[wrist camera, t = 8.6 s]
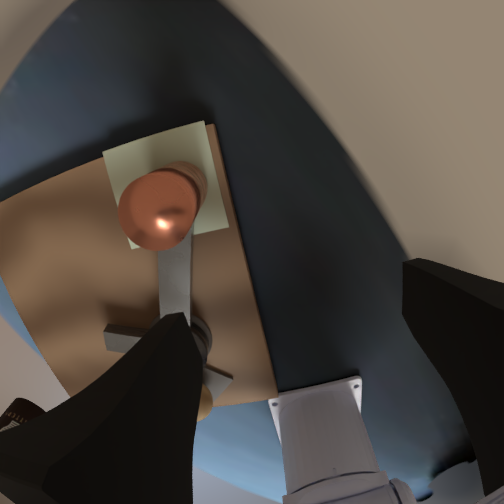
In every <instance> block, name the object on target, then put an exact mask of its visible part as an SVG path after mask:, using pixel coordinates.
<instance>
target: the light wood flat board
mask: <svg viewBox="0 0 504 504" xmlns="http://www.w3.org/2000/svg"><path fill="white" fill-rule="evenodd" d="M102 153H103V157H102V158H99V159H96V160H94V161H91V162H88V163H86V164H83V165H81V166H78V167H76V168H73V169H71V170H68V171H66V172H64V173H61V174H59V175H57V176H54V177H52V178H50V179H48V180H45V181H43V182H41V183H39V184H37V185H34V186H32V187H30V188H28V189H26V190H24V191H22V192H20V193H18V194H16V195H14V196H12V197H10V198H8V199H6V200H4V201H2V202H0V275H1V277H2V280H3V282H4V284H5V286H6V288H7V291H8V293H9V295H10V297H11V299H12V301H13V303H14V305H15V307H16V309H17V311H18V313H19V315H20V317H21V319H22V321H23V323H24V325H25V326H26V328H27V330H28V332H29V334H30V335H31V337H32V339H33V341H34V342H35V344H36V346H37V347H38V349H39V351H40V352H41V354H42V356H43V357H44V359H45V360H46V362H47V364H48V365H49V367H50V368H51V370H52V371H53V373H54V374H55V376H56V377H57V379H58V380H59V382H60V383H61V384H62V386H63V387H64V389H65V390H66V391H67V393H68V394H69V396H70V397H72V396H74V395H76V394H77V393H79V392H80V391H82V390H83V389H84V388H86V387H87V386H88V385H90V384H91V383H92V382H94V381H95V380H96V379H97V378H99V377H100V376H101V375H102V374H104V373H105V372H106V371H107V370H108V369H109V368H110V367H111V366H113V365H114V364H115V363H116V362H117V361H118V360H119V359H120V358H121V357H122V356H123V355H124V354H125V353H119V352H113V351H108V350H107V349H106V345H105V340H104V335H103V331H104V329H105V327H106V326H107V324H108V323H109V324H116V325H122V326H129V327H136V328H144V329H151V328H152V327H153V326H154V325H155V324H156V323H157V322H158V321H159V320H160V302H159V279H158V251H152V250H147V249H144V248H142V247H139V246H138V245H136V244H135V243H133V242H132V241H131V240H130V239H129V238H128V237H127V236H126V234H125V233H124V231H123V229H122V227H121V225H120V222H119V218H118V204H119V200H120V197H121V195H122V193H123V191H124V190H125V188H126V187H127V186H128V185H129V184H130V183H131V182H132V181H134V180H135V179H137V178H139V177H141V176H143V175H146V174H148V173H150V172H152V171H154V170H156V169H158V168H160V167H162V166H165V165H167V164H169V163H171V162H175V161H185V162H189V163H191V164H193V165H195V166H196V167H198V168H199V169H200V170H201V171H202V173H203V174H204V176H205V178H206V181H207V186H208V191H207V196H206V199H205V201H204V203H203V205H202V207H201V209H200V211H199V213H198V214H197V216H196V218H195V220H194V242H193V283H192V322H194V323H195V324H197V325H198V326H199V327H200V328H201V329H202V330H203V331H204V332H205V334H206V335H207V338H208V341H209V349H208V356H207V363H206V366H205V367H204V369H203V384H202V392H201V398H200V405H199V411H198V417H197V421H200V420H202V419H204V418H205V417H207V416H208V414H209V413H210V412H211V409H212V407H217V406H226V405H234V404H242V403H249V402H255V401H262V400H268V399H274V398H279V395H278V387H277V383H276V379H275V375H274V371H273V367H272V363H271V359H270V355H269V351H268V346H267V342H266V338H265V334H264V330H263V326H262V322H261V318H260V313H259V309H258V305H257V301H256V297H255V293H254V288H253V284H252V280H251V276H250V272H249V268H248V263H247V259H246V255H245V251H244V247H243V242H242V238H241V234H240V230H239V226H238V221H237V217H236V213H235V209H234V204H233V200H232V196H231V192H230V187H229V183H228V179H227V174H226V170H225V166H224V162H223V157H222V153H221V149H220V144H219V140H218V136H217V131H216V127H215V124H210V125H205V123H204V121H200V122H196V123H192V124H189V125H185V126H181V127H178V128H174V129H171V130H167V131H164V132H160V133H157V134H154V135H151V136H148V137H144V138H141V139H138V140H135V141H132V142H129V143H126V144H123V145H121V146H118V147H115V148H112V149H109V150H107V151H104V152H102Z"/></svg>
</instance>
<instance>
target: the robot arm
mask: <svg viewBox="0 0 504 504" xmlns="http://www.w3.org/2000/svg"><path fill="white" fill-rule="evenodd" d="M402 315H403V317H404V319H405V321H406V323H407V325H408V327H409V329H410V331H411V332H412V334H413V336H414V338H415V339H416V341H417V342H418V344H419V345H420V347H421V348H422V349H423V351H424V352H425V354H426V355H427V357H428V358H429V359H430V361H431V362H432V364H433V365H434V367H435V368H436V370H437V371H438V373H439V374H440V376H441V377H442V378H443V380H444V381H445V383H446V385H447V387H448V388H449V390H450V392H451V394H452V396H453V398H454V400H455V402H456V404H457V406H458V409H459V411H460V413H461V415H462V418H463V420H464V423H465V425H466V428H467V431H468V433H469V436H470V439H471V442H472V445H473V448H474V451H475V455H476V458H477V461H478V466H479V470H480V475H481V479H482V484H483V490H484V495H485V498H483V499H481V500H479V501H478V502H476V503H474V504H504V283H501V282H498V281H494V280H490V279H487V278H483V277H480V276H477V275H473V274H471V273H467V272H464V271H461V270H458V269H455V268H452V267H449V266H446V265H443V264H440V263H437V262H434V261H430V260H426V259H421V258H416V259H413V260H409V261H405V262H403V300H402ZM202 384H203V359H202V356H201V354H200V351H199V349H198V347H197V344H196V342H195V339H194V337H193V334H192V332H191V330H190V327H189V325H188V322H187V319H186V317H185V314H184V312H178V313H172V314H166V315H165V316H164V317H162V318H161V319H160V320H159V321H158V322H157V323H156V324H155V325H154V326H153V327H152V328H151V329H150V330H149V331H148V332H147V333H146V334H145V335H144V336H143V337H142V338H141V339H140V340H139V341H138V342H137V343H136V344H135V345H134V346H133V347H132V348H131V349H130V350H129V351H128V352H127V353H126V354H124V355H123V356H122V357H121V358H120V359H119V360H118V361H117V362H116V363H115V364H114V365H113V366H111V367H110V368H109V369H108V370H107V371H106V372H105V373H104V374H102V375H101V376H100V377H99V378H97V379H96V380H95V381H94V382H92V383H91V384H90V385H88V386H87V387H86V388H84V389H83V390H82V391H80V392H79V393H77V394H76V395H74V396H72V397H71V398H69V399H68V400H66V401H65V402H63V403H61V404H60V405H58V406H57V407H55V408H53V409H52V410H49V411H48V412H46V413H44V414H42V415H40V416H38V417H36V418H34V419H32V420H29V421H27V422H25V423H23V424H20V425H17V426H15V427H12V428H9V429H7V430H4V431H1V432H0V492H1V493H2V494H4V495H5V496H6V497H7V498H9V499H10V500H11V501H13V502H14V503H15V504H193V491H192V490H193V489H192V461H193V444H194V436H195V430H196V424H197V417H198V411H199V405H200V398H201V392H202ZM356 384H357V385H356ZM361 394H362V379H361V377H360V376H353V377H349V378H345V379H341V380H337V381H333V382H329V383H325V384H320V385H316V386H311V387H307V388H302V389H297V390H292V391H287V392H282V393H278V395H279V398H274V399H268V403H269V407H270V410H271V413H272V417H273V420H274V424H275V427H276V430H277V434H278V437H279V440H280V443H281V447H282V454H283V463H284V472H285V481H286V490H287V495H284V496H282V498H283V504H417V503H416V500H415V497H414V495H413V493H412V491H411V489H410V487H409V486H408V485H407V484H406V483H405V482H402V481H400V480H399V479H397V478H394V479H392V480H388V477H387V474H386V471H381V472H380V469H379V466H378V463H377V460H376V457H375V454H374V451H373V448H372V445H371V442H370V439H369V437H368V434H367V431H366V428H365V425H364V422H363V419H362V417H361ZM274 402H276V403H274Z"/></svg>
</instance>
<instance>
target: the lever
mask: <svg viewBox="0 0 504 504" xmlns="http://www.w3.org/2000/svg"><path fill="white" fill-rule="evenodd" d="M207 191H208V186H207V181H206V178H205V176H204V174H203V173H202V171H201V170H200V169H199V168H198V167H196V166H195V165H193V164H191V163H189V162H185V161H175V162H171V163H169V164H167V165H165V166H162V167H160V168H158V169H156V170H154V171H152V172H150V173H148V174H146V175H143V176H141V177H139V178H137V179H135V180H134V181H132V182H131V183H130V184H129V185H128V186H127V187H126V188H125V190H124V191H123V193H122V195H121V197H120V200H119V204H118V218H119V222H120V225H121V227H122V229H123V231H124V233H125V234H126V236H127V237H128V238H129V239H130V240H131V241H132V242H133V243H135V244H136V245H138V246H139V247H142V248H144V249H147V250H152V251H158V279H159V302H160V319H161V318H162V317H164V316H165V315H166V314H172V313H178V312H184V314H185V317H186V319H187V322H188V325H189V327H190V330H191V332H192V334H193V337H194V339H195V342H196V344H197V347H198V349H199V351H200V354H201V356H202V359H203V369H204V367H205V366H206V363H207V356H208V349H209V341H208V338H207V335H206V334H205V332H204V331H203V330H202V329H201V328H200V327H199V326H198V325H197V324H195V323H194V322H192V283H193V242H194V220H195V218H196V216H197V214H198V213H199V211H200V209H201V207H202V205H203V203H204V201H205V199H206V196H207ZM149 330H150V329H144V328H136V327H129V326H122V325H116V324H109V323H108V324H107V326H106V327H105V329H104V331H103V335H104V340H105V345H106V349H107V350H108V351H113V352H119V353H125V354H126V353H127V352H128V351H129V350H130V349H131V348H132V347H133V346H134V345H135V344H136V343H137V342H138V341H139V340H140V339H141V338H142V337H143V336H144V335H145V334H146V333H147V332H148V331H149Z"/></svg>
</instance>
